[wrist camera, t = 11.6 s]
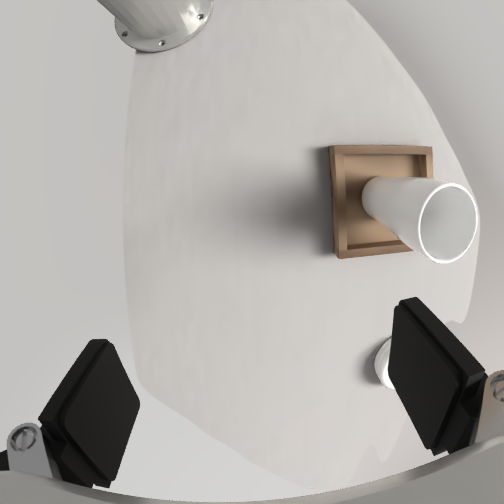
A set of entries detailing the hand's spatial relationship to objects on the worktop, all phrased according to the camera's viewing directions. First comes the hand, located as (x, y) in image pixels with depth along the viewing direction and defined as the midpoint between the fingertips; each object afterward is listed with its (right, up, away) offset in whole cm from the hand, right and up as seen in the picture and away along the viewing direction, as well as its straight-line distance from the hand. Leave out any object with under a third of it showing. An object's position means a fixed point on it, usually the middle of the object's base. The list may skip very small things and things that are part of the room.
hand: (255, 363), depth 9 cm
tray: (+16, +10, +26) cm, 32 cm away
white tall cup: (+15, +10, +25) cm, 32 cm away
